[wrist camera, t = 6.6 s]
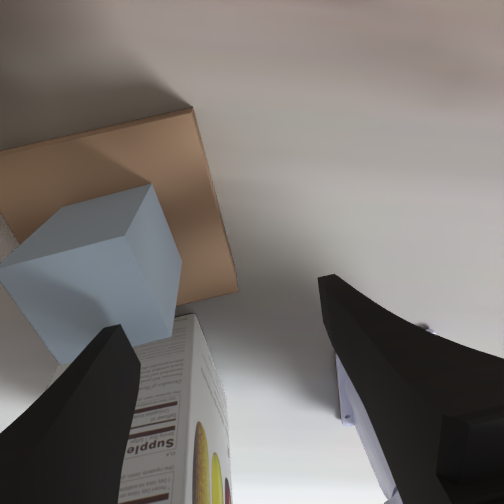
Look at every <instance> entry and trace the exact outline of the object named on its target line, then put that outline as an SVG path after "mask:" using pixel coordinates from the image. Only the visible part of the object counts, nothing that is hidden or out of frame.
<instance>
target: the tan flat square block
mask: <svg viewBox="0 0 504 504" xmlns="http://www.w3.org/2000/svg"><path fill="white" fill-rule="evenodd" d="M148 184H152V185H153V187H154V190H155V192H156V195H157V197H158V200H159V203H160V205H161V208H162V210H163V213H164V216H165V218H166V221H167V223H168V226H169V228H170V231H171V234H172V236H173V239H174V241H175V244H176V247H177V249H178V252H179V254H180V257H181V259H182V267H181V274H180V281H179V288H178V295H177V302H176V306H178V305H183V304H187V303H191V302H196V301H200V300H204V299H209V298H213V297H217V296H222V295H226V294H230V293H234V292H239V291H238V284H237V277H236V270H235V266H234V262H233V258H232V255H231V251H230V247H229V243H228V239H227V235H226V232H225V228H224V224H223V220H222V216H221V212H220V209H219V205H218V201H217V197H216V193H215V189H214V186H213V182H212V178H211V174H210V170H209V166H208V163H207V159H206V155H205V151H204V147H203V143H202V140H201V136H200V132H199V128H198V124H197V120H196V117H195V113H194V109H193V107H191V108H187V109H182V110H178V111H174V112H169V113H165V114H160V115H156V116H152V117H147V118H143V119H138V120H134V121H130V122H125V123H121V124H116V125H112V126H107V127H103V128H99V129H94V130H90V131H85V132H81V133H77V134H72V135H68V136H63V137H59V138H54V139H50V140H46V141H41V142H37V143H32V144H28V145H24V146H19V147H15V148H10V149H6V150H2V151H0V213H1V214H2V216H3V218H4V219H5V221H6V222H7V224H8V226H9V227H10V229H11V231H12V232H13V234H14V236H15V237H16V239H17V240H18V242H19V244H20V245H21V244H22V243H23V242H24V241H25V240H26V239H27V238H28V237H30V236H31V235H32V234H33V233H34V232H35V231H36V230H37V229H38V228H40V227H41V226H42V225H43V224H44V223H45V222H46V221H47V220H48V219H50V218H51V217H52V216H53V215H54V214H55V213H56V212H57V211H58V210H59V209H61V208H62V207H64V206H68V205H72V204H76V203H80V202H83V201H87V200H91V199H95V198H99V197H102V196H106V195H110V194H114V193H117V192H121V191H125V190H129V189H133V188H136V187H140V186H144V185H148Z"/></svg>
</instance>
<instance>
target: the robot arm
mask: <svg viewBox="0 0 504 504" xmlns="http://www.w3.org/2000/svg"><path fill="white" fill-rule="evenodd" d="M318 284H319V292H320V300H321V308H322V316H323V322H324V325H325V328H326V330H327V333H328V336H329V338H330V341H331V343H332V346H333V348H334V350H335V352H336V354H335V357H336V367H337V378H338V389H339V399H340V410H341V421H342V424H343V426H345V427H349V426H353V425H355V427H356V430H357V432H358V434H359V437H360V439H361V442H362V444H363V446H364V449H365V451H366V454H367V456H368V458H369V461H370V463H371V466H372V468H373V470H374V473H375V475H376V478H377V480H378V482H379V485H380V487H381V489H382V491H383V493H384V495H385V496H386V498H387V499H388V501H386V502H385V503H384V504H504V359H503V358H500V357H497V356H494V355H490V354H487V353H484V352H481V351H478V350H475V349H472V348H469V347H466V346H463V345H461V344H458V343H455V342H453V341H450V340H448V339H445V338H443V337H440V336H438V335H436V333H435V332H434V331H433V330H432V329H427V330H424V329H422V328H420V327H418V326H416V325H414V324H412V323H410V322H408V321H406V320H404V319H402V318H400V317H398V316H397V315H395V314H393V313H391V312H390V311H388V310H386V309H385V308H383V307H381V306H380V305H378V304H377V303H375V302H374V301H372V300H371V299H369V298H368V297H366V296H365V295H363V294H362V293H360V292H359V291H357V290H356V289H355V288H353V287H352V286H351V285H349V284H348V283H346V282H345V281H344V280H342V279H341V278H340V277H338V276H337V275H335V274H331V275H327V276H323V277H319V278H318ZM140 372H141V363H140V361H139V359H138V357H137V355H136V353H135V351H134V349H133V347H132V345H131V343H130V341H129V340H128V338H127V336H126V334H125V332H124V330H123V328H122V326H121V324H118V325H113V326H109V327H105V328H103V329H102V330H101V331H100V332H99V333H98V334H97V335H96V336H95V337H94V338H93V340H92V341H91V342H90V343H89V344H88V345H87V346H86V347H85V349H84V350H83V351H82V352H81V353H80V354H79V355H78V356H77V358H76V359H75V360H74V361H73V362H72V363H71V364H70V365H69V366H68V368H67V369H66V370H65V371H64V372H63V373H62V374H61V375H60V376H59V377H58V378H57V379H56V380H55V382H54V383H53V384H52V385H51V386H50V387H49V388H48V389H47V390H46V391H45V392H44V393H43V394H42V395H41V396H40V397H39V398H38V399H37V400H36V401H35V402H34V403H33V404H32V405H31V406H30V407H29V408H28V409H27V410H26V411H25V412H24V413H23V414H21V415H20V416H19V417H18V418H17V419H16V420H15V421H14V422H13V423H12V424H10V425H9V426H8V427H7V428H6V429H5V430H4V431H2V432H1V433H0V504H118V497H119V489H120V481H121V473H122V466H123V461H124V456H125V451H126V447H127V442H128V438H129V433H130V429H131V425H132V420H133V416H134V411H135V407H136V402H137V397H138V393H139V384H140Z"/></svg>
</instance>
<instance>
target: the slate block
mask: <svg viewBox="0 0 504 504" xmlns="http://www.w3.org/2000/svg"><path fill="white" fill-rule="evenodd" d="M181 267H182V259H181V257H180V254H179V252H178V249H177V247H176V244H175V241H174V239H173V236H172V234H171V231H170V228H169V226H168V223H167V221H166V218H165V216H164V213H163V210H162V208H161V205H160V203H159V200H158V197H157V195H156V192H155V190H154V187H153V185H152V184H148V185H144V186H140V187H136V188H133V189H129V190H125V191H121V192H117V193H114V194H110V195H106V196H102V197H99V198H95V199H91V200H87V201H83V202H80V203H76V204H72V205H68V206H64V207H62V208H61V209H59V210H58V211H57V212H56V213H55V214H54V215H53V216H52V217H51V218H50V219H48V220H47V221H46V222H45V223H44V224H43V225H42V226H41V227H40V228H38V229H37V230H36V231H35V232H34V233H33V234H32V235H31V236H30V237H28V238H27V239H26V240H25V241H24V242H23V243H22V244H21V245H20V246H18V247H17V248H16V249H15V250H14V251H13V252H12V253H11V254H10V255H9V256H7V257H6V258H5V259H4V260H3V261H2V262H1V263H0V282H1V283H2V285H3V286H4V288H5V289H6V290H7V292H8V293H9V295H10V296H11V297H12V299H13V300H14V302H15V303H16V304H17V306H18V307H19V309H20V310H21V311H22V313H23V314H24V316H25V317H26V318H27V320H28V321H29V323H30V324H31V325H32V327H33V328H34V329H35V331H36V332H37V334H38V335H39V336H40V338H41V339H42V341H43V342H44V343H45V345H46V346H47V348H48V349H49V350H50V352H51V353H52V355H53V356H54V357H55V359H56V360H57V362H58V363H59V364H60V365H64V364H68V363H72V362H73V361H74V360H75V359H76V358H77V356H78V355H79V354H80V353H81V352H82V351H83V350H84V349H85V347H86V346H87V345H88V344H89V343H90V342H91V341H92V340H93V338H94V337H95V336H96V335H97V334H98V333H99V332H100V331H101V330H102V329H103V328H105V327H109V326H113V325H118V324H121V326H122V328H123V330H124V332H125V334H126V336H127V338H128V340H129V341H130V343H131V345H132V347H133V346H137V345H141V344H145V343H149V342H153V341H157V340H161V339H164V338H168V337H172V330H173V323H174V316H175V309H176V302H177V295H178V288H179V281H180V274H181Z"/></svg>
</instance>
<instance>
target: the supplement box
mask: <svg viewBox="0 0 504 504" xmlns="http://www.w3.org/2000/svg"><path fill="white" fill-rule="evenodd" d="M133 349H134V351H135V353H136V355H137V357H138V359H139V361H140V363H141V372H140V384H139V393H138V397H137V402H136V407H135V411H134V416H133V420H132V425H131V429H130V433H129V438H128V442H127V447H126V451H125V456H124V461H123V466H122V473H121V481H120V489H119V497H118V504H233V501H232V484H231V465H230V447H229V430H228V412H227V398H226V395H225V392H224V390H223V387H222V384H221V381H220V378H219V376H218V373H217V370H216V368H215V365H214V362H213V360H212V357H211V354H210V351H209V349H208V346H207V343H206V340H205V338H204V335H203V332H202V330H201V327H200V324H199V322H198V319H197V317H196V315H195V314H188V315H184V316H180V317H176V318H174V323H173V330H172V337H168V338H164V339H161V340H157V341H153V342H149V343H145V344H141V345H137V346H133ZM70 364H71V363H68V364H64V365H60V364H59V365H58V367H57V369H56V371H55V373H54V375H53V377H52V378H51V381H50V383H49V384H48V386H47V388H46V390H47V389H48V388H49V387H50V386H51V385H52V384H53V383H54V382H55V380H56V379H57V378H58V377H59V376H60V375H61V374H62V373H63V372H64V371H65V370H66V369H67V368H68V366H69V365H70ZM46 390H45V391H46Z"/></svg>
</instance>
